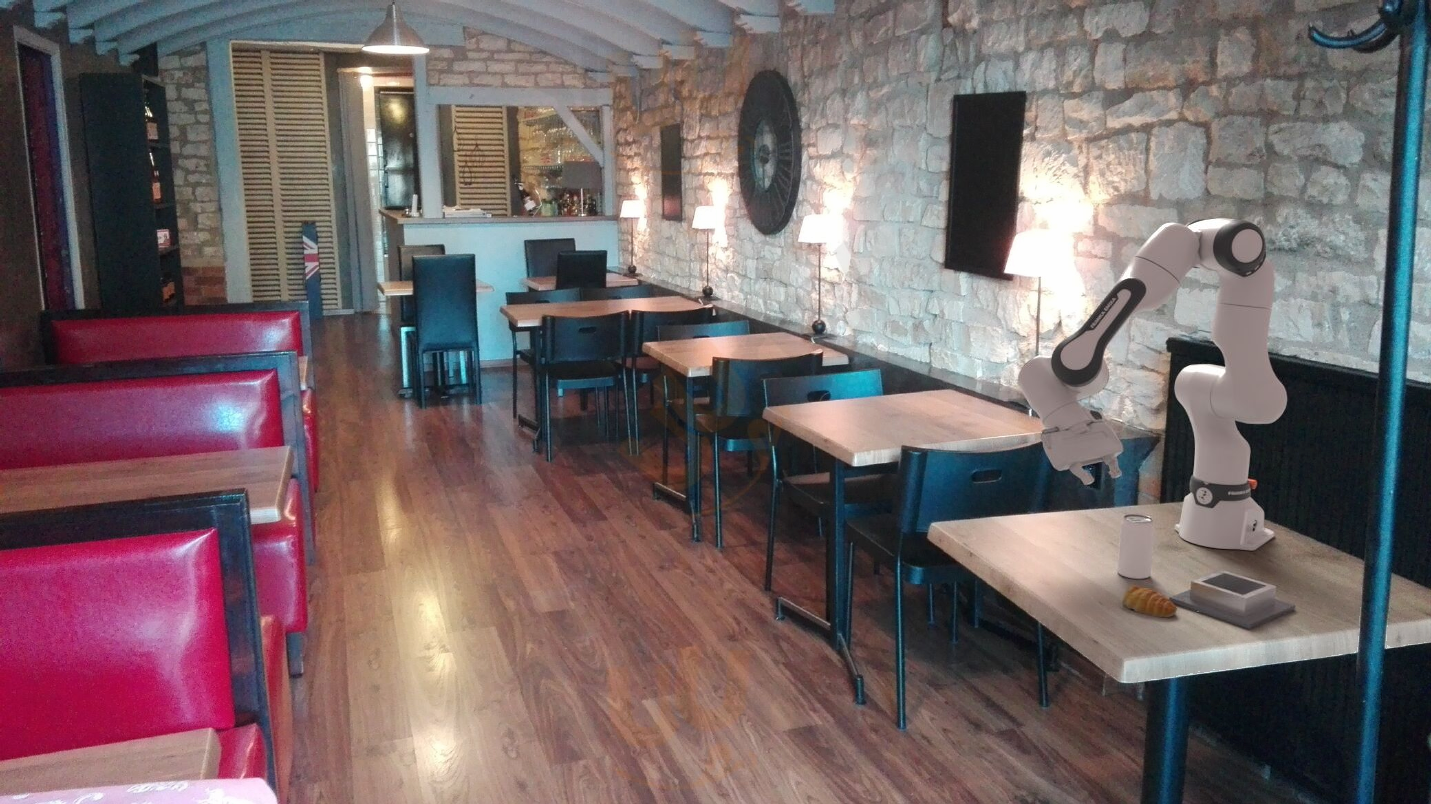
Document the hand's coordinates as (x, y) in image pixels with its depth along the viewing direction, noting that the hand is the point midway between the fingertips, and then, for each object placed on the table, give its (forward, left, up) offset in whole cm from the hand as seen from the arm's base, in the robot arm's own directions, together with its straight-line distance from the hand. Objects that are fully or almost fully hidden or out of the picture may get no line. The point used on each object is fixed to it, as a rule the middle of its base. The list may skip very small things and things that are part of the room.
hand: (1104, 479), depth 232 cm
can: (0, +9, -18) cm, 20 cm away
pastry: (+14, +21, -19) cm, 31 cm away
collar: (0, +30, -18) cm, 35 cm away
